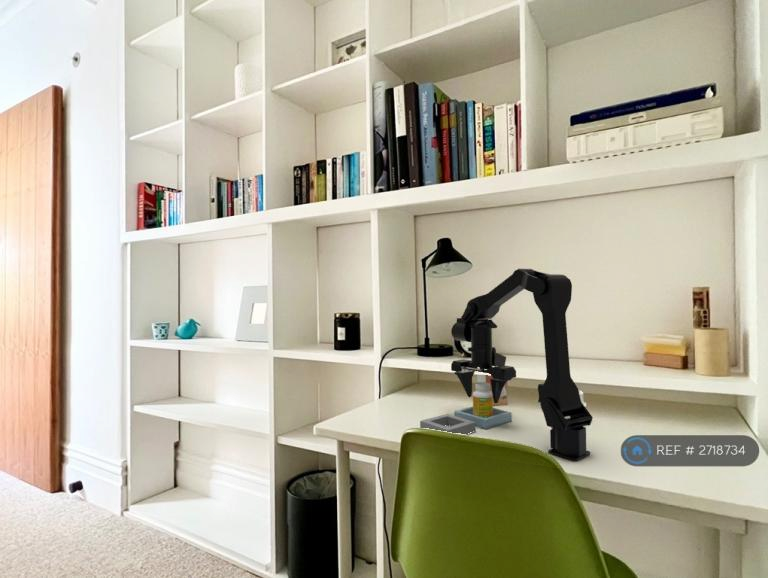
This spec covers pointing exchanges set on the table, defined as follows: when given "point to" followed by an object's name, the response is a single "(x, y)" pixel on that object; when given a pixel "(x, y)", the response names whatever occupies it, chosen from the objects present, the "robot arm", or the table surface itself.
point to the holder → (455, 424)
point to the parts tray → (495, 420)
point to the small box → (485, 378)
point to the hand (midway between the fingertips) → (482, 399)
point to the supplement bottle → (482, 400)
